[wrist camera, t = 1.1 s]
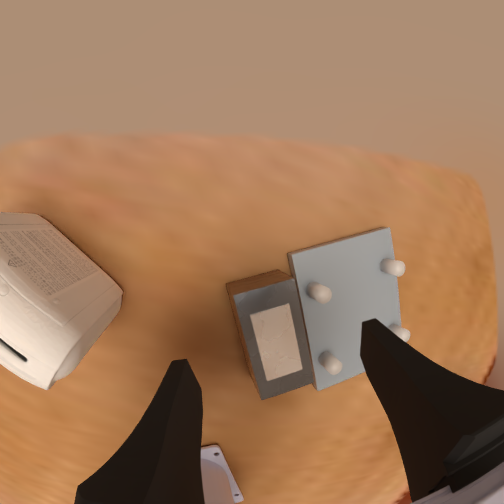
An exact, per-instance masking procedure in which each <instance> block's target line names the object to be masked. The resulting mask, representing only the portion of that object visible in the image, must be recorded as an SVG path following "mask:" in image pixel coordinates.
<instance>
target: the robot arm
mask: <svg viewBox="0 0 504 504" xmlns="http://www.w3.org/2000/svg"><path fill="white" fill-rule="evenodd" d="M360 357H361V360H362V363H363V366H364V369H365V371H366V374H367V376H368V378H369V380H370V382H371V384H372V386H373V388H374V390H375V392H376V394H377V396H378V398H379V400H380V402H381V404H382V406H383V408H384V410H385V412H386V414H387V416H388V418H389V421H390V423H391V426H392V429H393V431H394V434H395V437H396V440H397V443H398V447H399V450H400V453H401V456H402V460H403V464H404V468H405V472H406V476H407V480H408V485H409V490H410V496H411V500H412V503H410V504H504V391H503V390H499V389H495V388H491V387H488V386H485V385H482V384H479V383H476V382H473V381H471V380H468V379H466V378H464V377H462V376H459V375H457V374H455V373H453V372H451V371H449V370H447V369H445V368H443V367H442V366H440V365H438V364H436V363H435V362H433V361H432V360H430V359H428V358H427V357H425V356H424V355H422V354H421V353H420V352H418V351H417V350H415V349H414V348H413V347H411V346H410V345H409V344H407V343H406V342H405V341H403V340H402V339H401V338H400V337H398V336H397V335H396V334H395V333H393V332H392V331H391V330H390V329H388V328H387V327H386V326H385V325H384V324H382V323H381V322H380V321H379V320H377V319H376V318H374V319H370V320H367V321H363V322H362V330H361V345H360ZM202 418H203V405H202V391H201V387H200V385H199V383H198V381H197V379H196V377H195V375H194V373H193V371H192V369H191V367H190V365H189V363H188V361H187V359H182V360H175V361H172V362H171V364H170V366H169V368H168V370H167V372H166V374H165V376H164V378H163V380H162V382H161V384H160V386H159V388H158V390H157V392H156V394H155V396H154V398H153V400H152V401H151V403H150V405H149V407H148V408H147V410H146V412H145V413H144V415H143V417H142V418H141V420H140V421H139V423H138V424H137V426H136V427H135V429H134V430H133V432H132V433H131V434H130V436H129V437H128V438H127V440H126V441H125V442H124V443H123V445H122V446H121V447H120V448H119V449H118V450H117V452H116V453H115V454H114V455H113V456H112V457H111V458H110V459H109V460H108V461H107V462H106V463H105V464H104V465H103V466H102V467H101V468H100V469H99V470H98V471H96V472H95V473H94V474H93V475H92V476H90V477H89V478H88V479H86V480H85V481H84V482H83V483H81V484H80V485H78V488H77V492H76V497H75V503H74V504H235V503H237V502H241V501H243V500H244V498H243V495H242V493H241V491H240V489H239V487H238V485H237V483H236V481H235V479H234V477H233V475H232V473H231V471H230V468H229V466H228V464H227V462H226V460H225V457H224V455H223V453H222V451H221V449H220V447H219V446H218V445H211V446H206V447H202V448H201V438H202ZM215 453H217V454H215Z"/></svg>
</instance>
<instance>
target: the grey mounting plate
mask: <svg viewBox="0 0 504 504" xmlns="http://www.w3.org/2000/svg"><path fill="white" fill-rule="evenodd" d="M287 255H288V259H289V264H290V269H291V273H292V277H293V278H294V279H295V284H296V289H297V294H298V299H299V304H300V309H301V314H302V319H303V324H304V329H305V334H306V339H307V345H308V350H309V355H310V361H311V366H312V372H313V378H314V383H313V386H314V387H315V389H316V390H317V391H320V390H322V389H325V388H327V387H330V386H332V385H335V384H337V383H340V382H342V381H344V380H347V379H349V378H351V377H354V376H356V375H358V374H360V373H363V372H365V369H364V366H363V363H362V360H361V357H360V345H361V330H362V322H363V321H367V320H370V319H374V318H376V319H377V320H379V321H380V322H381V323H382V324H384V325H385V326H386V327H387V328H388V329H390V330H391V331H392V332H393V333H395V334H396V335H397V336H398V337H400V338H401V339H402V340H403V341H405V342H407V341H408V340H409V338H410V331H409V330H407V329H404V328H402V327H401V317H400V304H399V293H398V283H397V276H402V275H403V273H404V272H405V264H404V263H403V262H402V261H397V260H395V258H394V251H393V244H392V237H391V231H390V227H382V228H378V229H374V230H371V231H367V232H364V233H360V234H356V235H353V236H349V237H345V238H342V239H338V240H334V241H331V242H327V243H323V244H320V245H316V246H312V247H309V248H305V249H301V250H298V251H294V252H290V253H287Z"/></svg>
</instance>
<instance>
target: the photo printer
mask: <svg viewBox="0 0 504 504" xmlns="http://www.w3.org/2000/svg"><path fill="white" fill-rule="evenodd" d="M122 294H123V291H122V289H121V288H120V287H119V286H118V285H117V284H116V282H115V281H114V280H113V279H112V278H111V277H110V276H108V275H107V274H106V273H105V272H104V271H103V270H102V269H101V268H100V267H99V266H97V265H96V264H95V263H94V262H93V261H92V260H91V259H90V258H88V257H87V256H86V255H85V254H84V253H83V252H82V251H81V250H79V249H78V248H77V247H76V246H75V245H74V244H73V243H72V242H71V241H69V240H68V239H67V238H66V237H65V236H64V235H63V234H62V233H61V232H60V231H58V230H57V229H56V228H55V227H54V226H53V225H52V224H50V223H49V222H48V221H47V220H45V219H44V218H42V217H41V216H39V215H37V214H31V213H11V212H0V364H1V365H3V366H4V367H5V368H7V369H8V370H10V371H11V372H13V373H14V374H16V375H17V376H19V377H20V378H22V379H24V380H26V381H27V382H29V383H31V384H33V385H36V386H38V387H41V388H43V389H45V390H48V389H50V388H51V387H52V386H53V384H54V383H55V382H56V381H57V380H59V379H62V378H64V377H66V376H67V375H69V374H70V373H71V372H72V371H73V370H74V369H75V368H76V367H77V365H78V364H79V363H80V361H81V360H82V359H83V357H84V356H85V355H86V353H87V352H88V351H89V349H90V348H91V347H92V346H93V344H94V343H95V342H96V341H97V339H98V338H99V337H100V335H101V334H102V333H103V332H104V330H105V329H106V328H107V327H108V325H109V324H110V323H111V321H112V320H113V319H114V318H115V316H116V315H117V314H118V312H119V310H120V307H121V303H122V296H121V295H122Z"/></svg>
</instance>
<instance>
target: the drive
mask: <svg viewBox="0 0 504 504" xmlns="http://www.w3.org/2000/svg"><path fill="white" fill-rule="evenodd" d="M226 287H227V291H228V295H229V298H230V302H231V306H232V310H233V314H234V317H235V321H236V325H237V329H238V332H239V336H240V340H241V343H242V347H243V350H244V354H245V358H246V361H247V365H248V368H249V372H250V375H251V378H252V380H253V382H254V385H255V387H256V389H257V391H258V393H259V396H260V398H261V400H264V399H267V398H270V397H273V396H277V395H280V394H283V393H286V392H288V391H291V390H294V389H297V388H300V387H303V386H305V385H308V384H311V383H314V378H313V372H312V366H311V361H310V355H309V350H308V345H307V339H306V334H305V329H304V324H303V319H302V314H301V309H300V304H299V299H298V294H297V289H296V284H295V279H294V278H293V277H291V276H289V275H287V274H285V273H283V272H281V271H279V270H274V271H270V272H267V273H263V274H259V275H256V276H252V277H248V278H245V279H241V280H237V281H234V282H230V283H226Z"/></svg>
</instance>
